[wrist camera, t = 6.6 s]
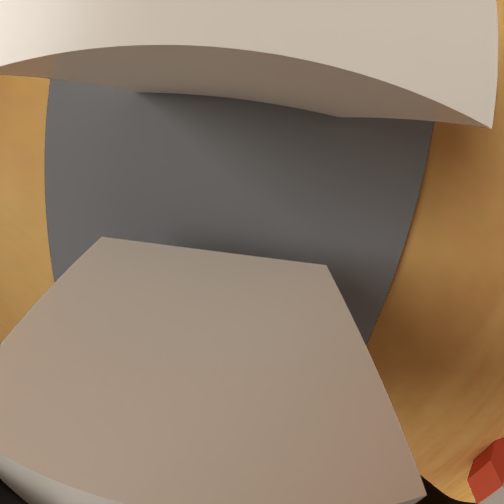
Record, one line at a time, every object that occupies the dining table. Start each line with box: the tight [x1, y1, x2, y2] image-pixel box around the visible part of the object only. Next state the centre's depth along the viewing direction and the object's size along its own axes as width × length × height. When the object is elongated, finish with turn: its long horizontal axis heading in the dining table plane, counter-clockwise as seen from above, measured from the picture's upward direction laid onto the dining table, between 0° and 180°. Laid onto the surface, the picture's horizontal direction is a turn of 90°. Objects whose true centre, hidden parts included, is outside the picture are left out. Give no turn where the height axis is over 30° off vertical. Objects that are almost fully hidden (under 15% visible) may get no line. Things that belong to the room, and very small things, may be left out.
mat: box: [45, 79, 434, 345], centre depth 10 cm, size 24×14×1 cm, turn 172°
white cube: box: [0, 237, 427, 504], centre depth 7 cm, size 7×7×7 cm
